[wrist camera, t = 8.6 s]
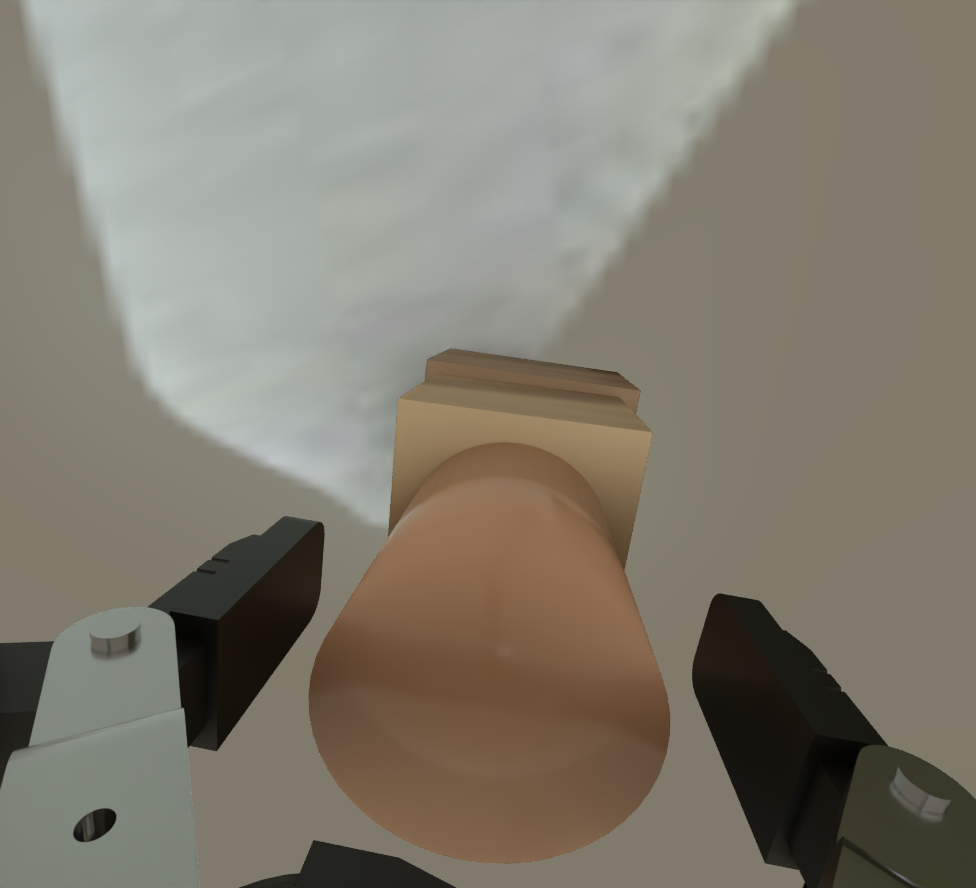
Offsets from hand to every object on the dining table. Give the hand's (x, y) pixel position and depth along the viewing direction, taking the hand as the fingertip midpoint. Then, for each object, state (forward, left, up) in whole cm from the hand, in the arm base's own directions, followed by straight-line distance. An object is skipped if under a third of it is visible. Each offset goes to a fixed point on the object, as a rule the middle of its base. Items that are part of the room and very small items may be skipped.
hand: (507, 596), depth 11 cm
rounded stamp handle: (0, 0, -3) cm, 3 cm away
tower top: (0, 0, -8) cm, 8 cm away
